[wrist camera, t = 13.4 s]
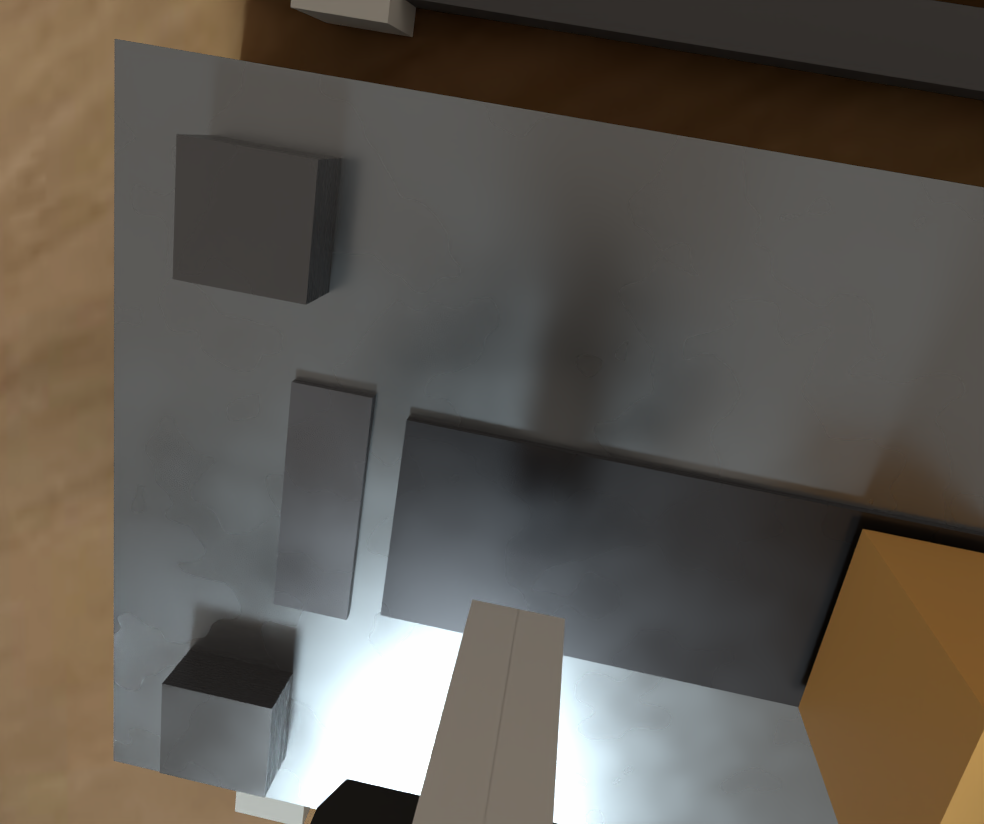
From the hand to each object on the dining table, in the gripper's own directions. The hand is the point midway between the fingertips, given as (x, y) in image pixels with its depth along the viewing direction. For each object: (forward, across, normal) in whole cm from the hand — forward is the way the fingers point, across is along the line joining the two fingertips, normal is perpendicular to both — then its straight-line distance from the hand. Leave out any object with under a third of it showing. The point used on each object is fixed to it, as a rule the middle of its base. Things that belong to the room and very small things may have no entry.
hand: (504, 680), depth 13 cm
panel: (+8, +3, +1) cm, 9 cm away
